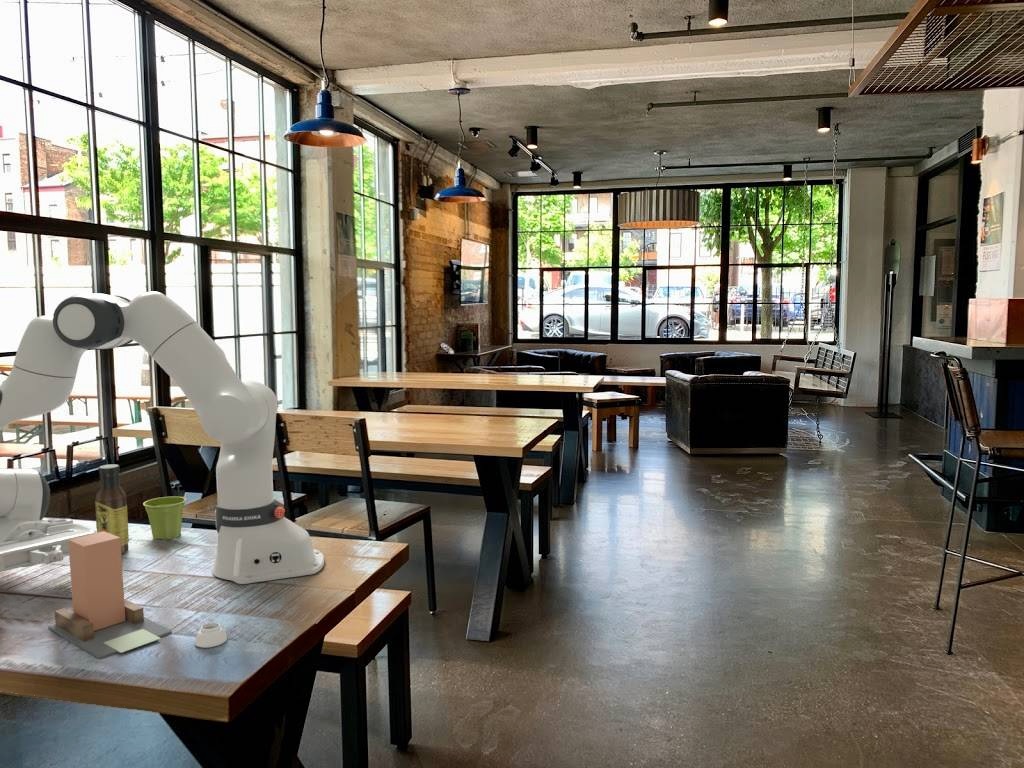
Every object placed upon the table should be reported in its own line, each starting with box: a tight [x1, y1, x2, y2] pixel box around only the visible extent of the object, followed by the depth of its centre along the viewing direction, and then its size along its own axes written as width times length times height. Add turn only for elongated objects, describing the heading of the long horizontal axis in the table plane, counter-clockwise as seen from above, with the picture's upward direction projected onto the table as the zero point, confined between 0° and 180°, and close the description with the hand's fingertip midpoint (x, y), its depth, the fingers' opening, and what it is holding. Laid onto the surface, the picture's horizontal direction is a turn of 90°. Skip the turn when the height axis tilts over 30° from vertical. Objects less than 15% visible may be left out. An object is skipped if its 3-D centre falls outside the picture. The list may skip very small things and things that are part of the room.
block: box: [68, 531, 126, 631], centre depth 134 cm, size 6×6×15 cm
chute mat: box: [47, 616, 173, 660], centre depth 133 cm, size 20×12×1 cm, turn 52°
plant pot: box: [142, 496, 187, 541], centre depth 185 cm, size 9×9×9 cm
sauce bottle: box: [94, 463, 130, 555], centre depth 173 cm, size 6×6×20 cm
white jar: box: [194, 621, 228, 649], centre depth 128 cm, size 5×3×5 cm
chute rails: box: [54, 598, 145, 642], centre depth 135 cm, size 11×10×2 cm
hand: (54, 558), depth 144 cm, fingers closed
